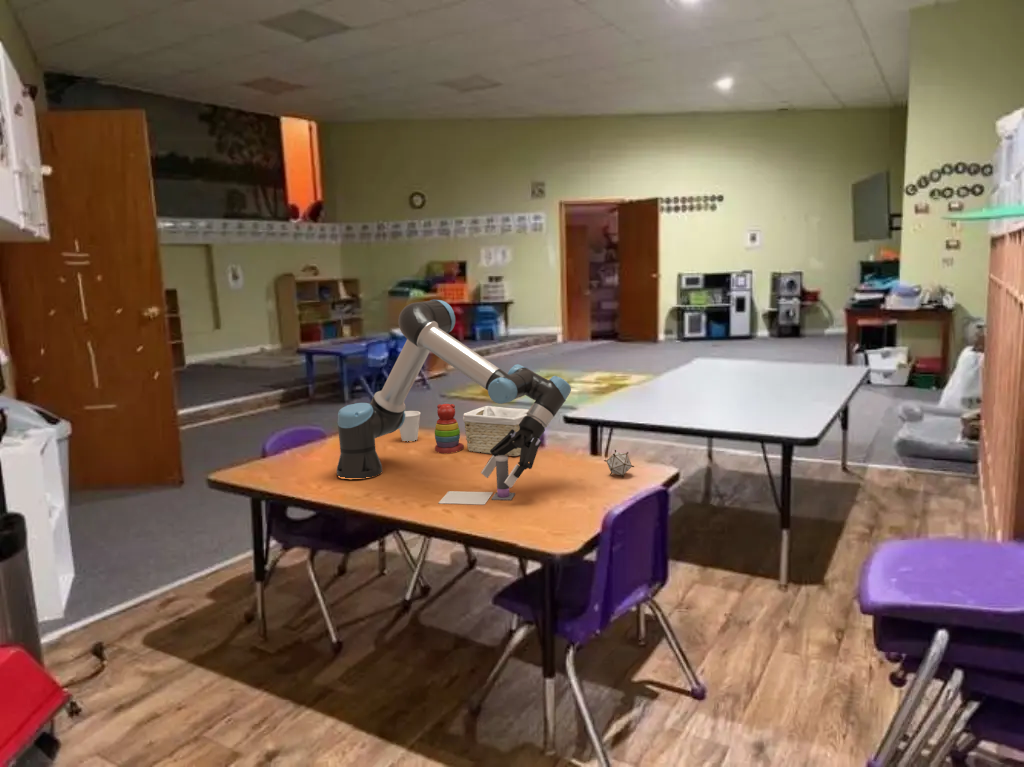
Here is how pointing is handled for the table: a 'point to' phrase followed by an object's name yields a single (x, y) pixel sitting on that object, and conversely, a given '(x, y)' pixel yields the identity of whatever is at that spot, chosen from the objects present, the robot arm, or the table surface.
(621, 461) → the game die
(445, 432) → the stacking bear
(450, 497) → the paper
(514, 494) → the rest pad
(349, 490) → the table surface
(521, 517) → the table surface
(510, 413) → the storage basket
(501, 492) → the marker
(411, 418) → the cup
